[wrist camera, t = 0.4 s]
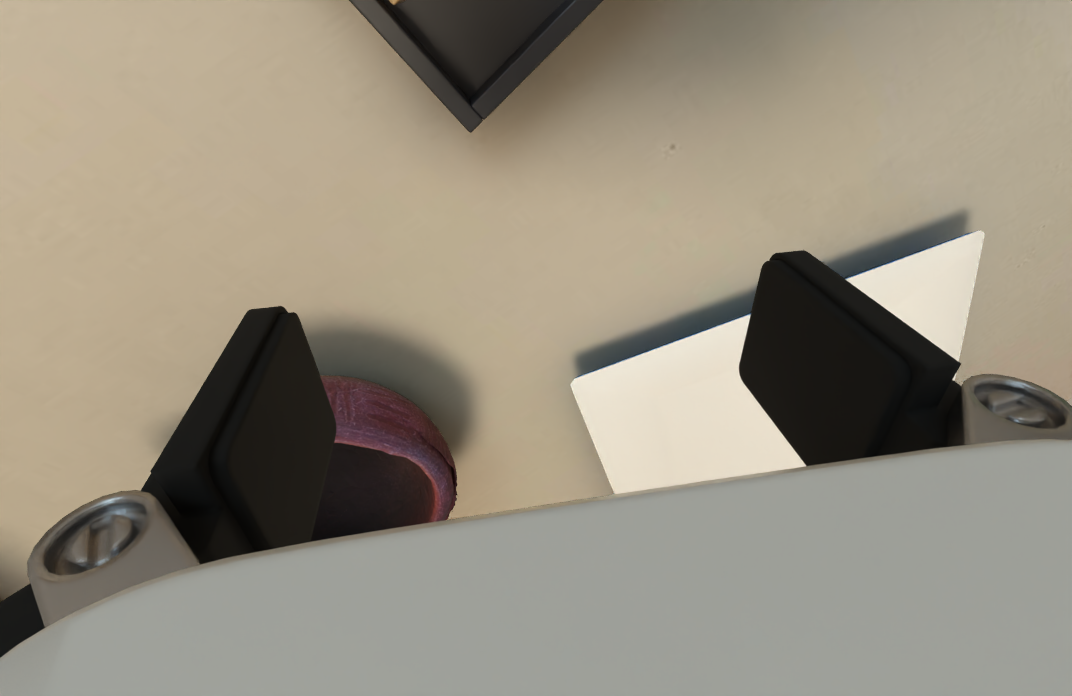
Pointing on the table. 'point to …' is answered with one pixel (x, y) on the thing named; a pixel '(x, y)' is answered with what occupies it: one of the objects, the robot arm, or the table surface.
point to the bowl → (382, 463)
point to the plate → (723, 399)
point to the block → (396, 1)
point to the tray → (474, 44)
